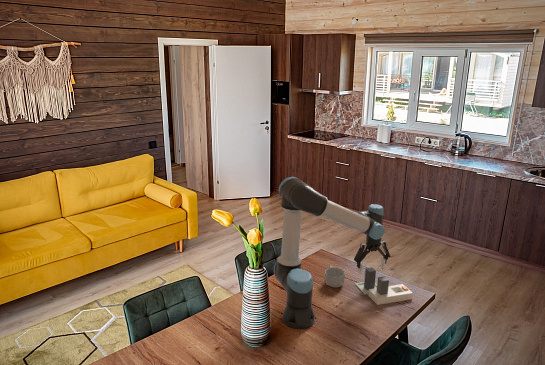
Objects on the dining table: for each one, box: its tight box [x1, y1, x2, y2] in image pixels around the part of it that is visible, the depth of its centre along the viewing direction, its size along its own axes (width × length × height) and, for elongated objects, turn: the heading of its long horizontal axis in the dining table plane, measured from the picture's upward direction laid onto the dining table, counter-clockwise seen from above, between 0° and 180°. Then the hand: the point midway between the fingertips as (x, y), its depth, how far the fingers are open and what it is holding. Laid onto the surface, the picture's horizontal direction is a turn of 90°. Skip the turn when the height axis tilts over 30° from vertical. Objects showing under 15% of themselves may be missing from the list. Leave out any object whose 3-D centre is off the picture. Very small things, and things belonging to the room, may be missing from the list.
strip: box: [367, 276, 414, 306], centre depth 218 cm, size 20×9×12 cm, turn 107°
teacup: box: [324, 265, 346, 289], centre depth 232 cm, size 14×11×8 cm
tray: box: [354, 281, 377, 296], centre depth 228 cm, size 11×11×1 cm
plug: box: [363, 266, 377, 290], centre depth 227 cm, size 4×4×11 cm
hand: (371, 271), depth 226 cm, fingers open, 13 cm apart
